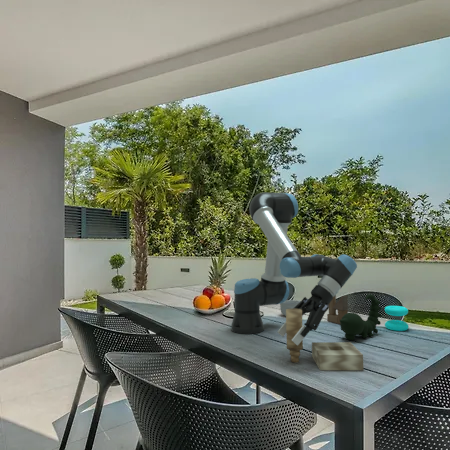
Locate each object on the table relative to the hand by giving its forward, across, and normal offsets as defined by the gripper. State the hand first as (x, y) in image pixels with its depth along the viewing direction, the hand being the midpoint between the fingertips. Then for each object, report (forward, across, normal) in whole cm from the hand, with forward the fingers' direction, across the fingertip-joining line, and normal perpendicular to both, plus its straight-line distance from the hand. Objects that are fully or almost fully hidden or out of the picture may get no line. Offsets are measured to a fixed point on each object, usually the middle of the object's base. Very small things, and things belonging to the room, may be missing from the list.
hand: (287, 338), depth 131 cm
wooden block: (-29, +43, -41) cm, 66 cm away
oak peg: (+4, 0, -8) cm, 9 cm away
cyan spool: (-42, +23, -54) cm, 72 cm away
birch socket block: (-5, -6, -17) cm, 19 cm away
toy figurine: (-25, +17, -37) cm, 47 cm away
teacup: (-20, +66, -32) cm, 75 cm away
